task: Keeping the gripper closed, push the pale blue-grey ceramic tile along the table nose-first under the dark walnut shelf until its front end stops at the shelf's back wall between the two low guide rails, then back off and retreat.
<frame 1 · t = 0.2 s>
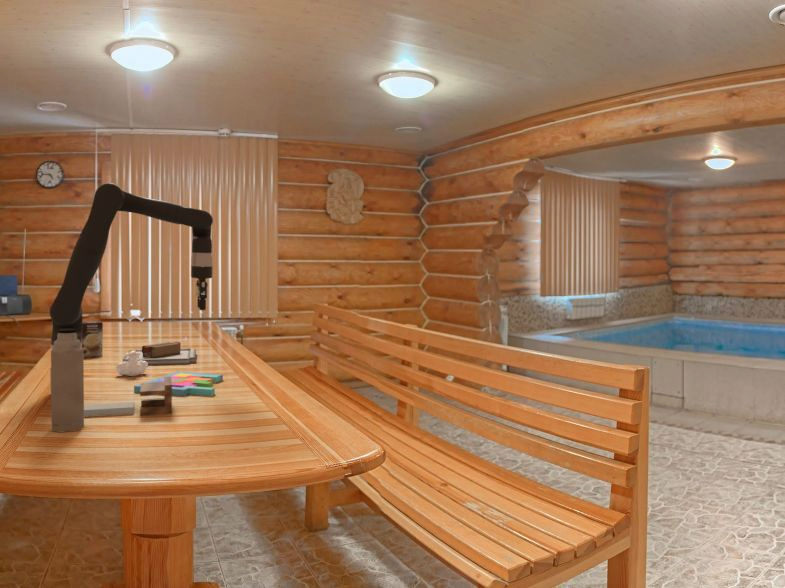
hand: (201, 308, 224), 29 cm above the table, tool pointing down, fingers open, 8 cm apart
coffee box: (90, 356, 283), on the table
thermos bottle: (68, 428, 169), on the table
shelf: (152, 409, 191), on the table
tile: (109, 413, 187), on the table
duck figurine: (132, 376, 242), on the table
tetris game: (191, 388, 225), on the table
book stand: (161, 361, 280), on the table
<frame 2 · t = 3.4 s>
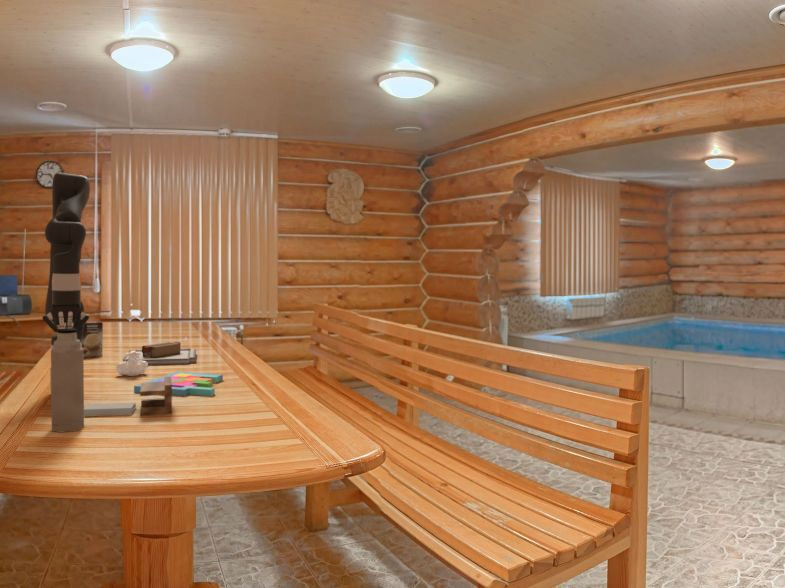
hand: (66, 346, 181), 21 cm above the table, tool pointing down, fingers closed
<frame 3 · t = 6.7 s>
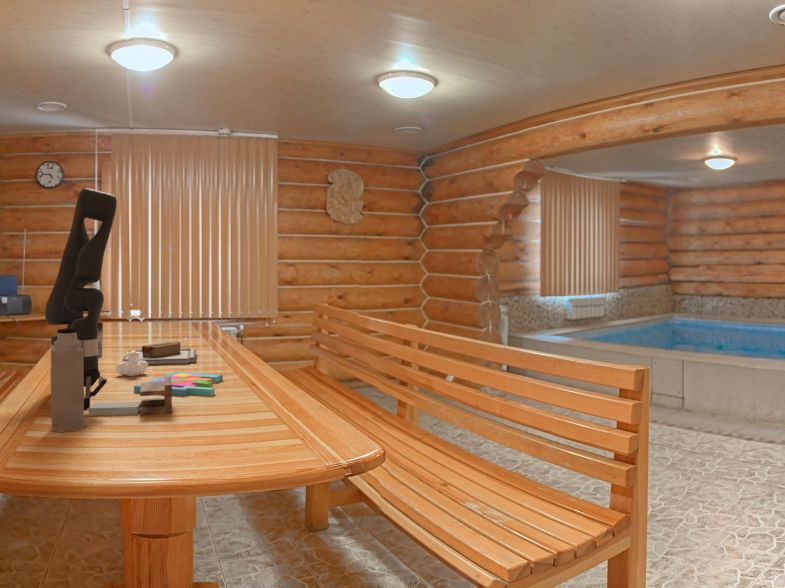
hand: (84, 410, 184), 1 cm above the table, tool pointing down, fingers closed
tile: (116, 412, 188), on the table, touching gripper
everything else where it was.
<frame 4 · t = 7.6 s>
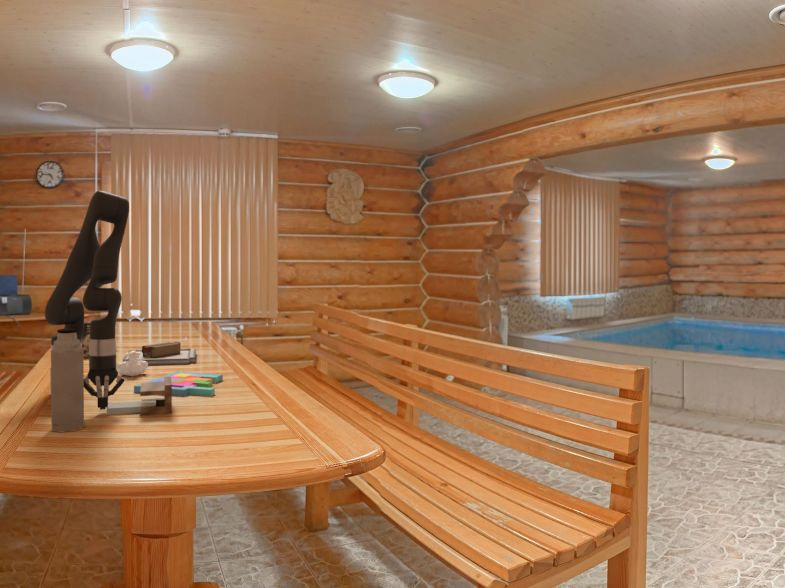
hand: (102, 408, 186), 1 cm above the table, tool pointing down, fingers closed
tile: (132, 412, 190), on the table, touching gripper
everything else where it was.
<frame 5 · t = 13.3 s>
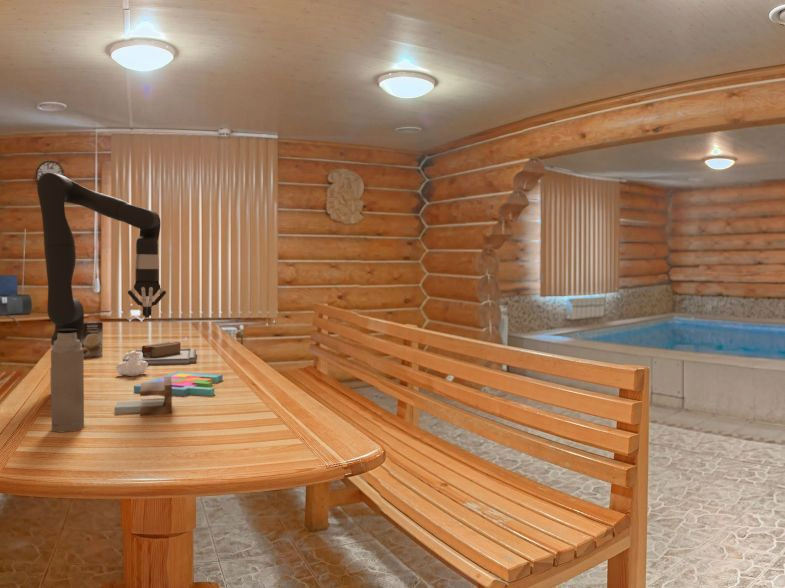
hand: (147, 317, 210), 27 cm above the table, tool pointing down, fingers closed
tile: (140, 411, 191), on the table
everything else where it was.
at the end: tile 1.1 cm from the target spot on the shelf, point -0.5 cm above the shelf's base; tile tilted 0° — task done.
